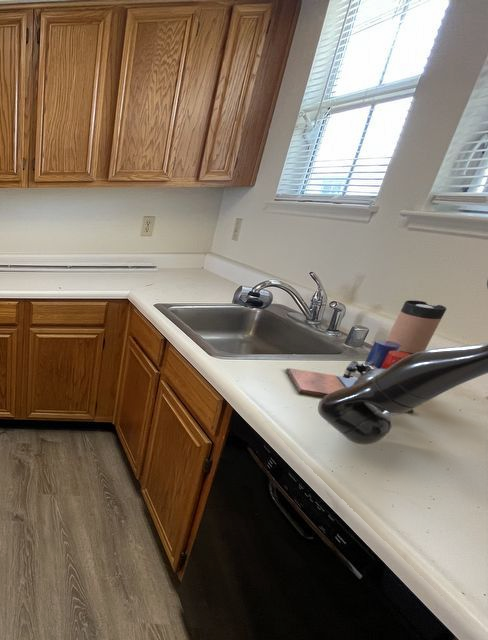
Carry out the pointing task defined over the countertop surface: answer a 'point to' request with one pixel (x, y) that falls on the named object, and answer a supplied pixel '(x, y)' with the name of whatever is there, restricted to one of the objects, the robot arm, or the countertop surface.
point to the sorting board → (318, 382)
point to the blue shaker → (381, 351)
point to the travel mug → (415, 325)
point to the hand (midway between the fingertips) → (394, 371)
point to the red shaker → (393, 358)
